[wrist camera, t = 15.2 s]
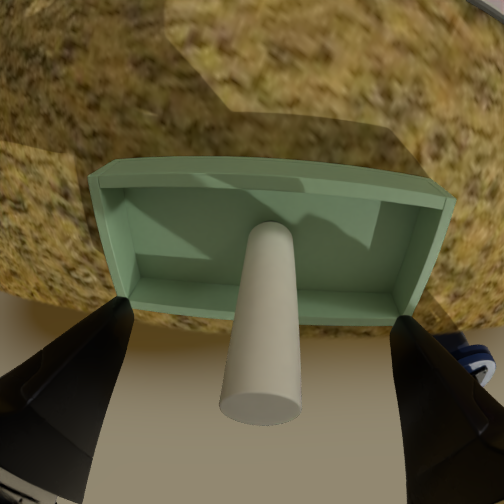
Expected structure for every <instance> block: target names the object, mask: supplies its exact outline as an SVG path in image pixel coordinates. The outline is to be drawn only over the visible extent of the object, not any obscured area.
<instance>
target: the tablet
mask: <svg viewBox="0 0 504 504" xmlns="http://www.w3.org/2000/svg"><path fill="white" fill-rule="evenodd" d="M466 1H468V2H469V3H471V4H473V5H475V6H476V7H478V8H480V9H481V10H483V11H485V12H486V13H488V14H489V15H491V16H492V17H494V18H495V19H497V20H498V21H500V22H501V23H503V24H504V0H466Z"/></svg>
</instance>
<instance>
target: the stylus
mask: <svg viewBox="0 0 504 504" xmlns="http://www.w3.org/2000/svg"><path fill="white" fill-rule="evenodd" d="M301 397H302V395H301V363H300V339H299V320H298V302H297V287H296V273H295V259H294V247H293V237H292V234H291V232H290V231H289V230H288V229H287V228H286V227H285V226H284V225H282V224H281V223H279V222H276V221H265V222H262V223H260V224H259V225H257V226H255V227H254V228H253V229H252V230H251V232H250V234H249V237H248V242H247V248H246V253H245V259H244V264H243V270H242V276H241V281H240V287H239V293H238V298H237V304H236V310H235V315H234V321H233V327H232V333H231V338H230V344H229V350H228V356H227V362H226V368H225V373H224V379H223V385H222V391H221V397H220V402H219V407H220V410H221V411H222V413H223V414H224V415H226V416H227V417H229V418H231V419H233V420H235V421H238V422H241V423H246V424H250V425H262V426H265V425H266V426H269V425H278V424H283V423H286V422H289V421H291V420H293V419H295V418H297V417H298V416H299V415H300V413H301V410H302V398H301Z"/></svg>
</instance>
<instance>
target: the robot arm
mask: <svg viewBox="0 0 504 504" xmlns="http://www.w3.org/2000/svg"><path fill="white" fill-rule="evenodd" d="M133 323H134V313H133V310H132V307H131V304H130V301H129V299H128V298H127V297H122V296H116V297H115V298H113V299H112V300H110V301H109V302H107V303H106V304H104V305H103V306H101V307H100V308H99V309H97V310H96V311H94V312H93V313H91V314H90V315H89V316H87V317H86V318H84V319H83V320H81V321H80V322H79V323H77V324H76V325H74V326H73V327H72V328H70V329H69V330H68V331H66V332H65V333H63V334H62V335H61V336H59V337H58V338H56V339H55V340H54V341H52V342H51V343H50V344H48V345H47V346H45V347H44V348H43V350H40V351H39V352H37V353H36V354H35V355H33V356H32V357H30V358H29V359H28V360H26V361H25V362H23V363H22V364H21V365H19V366H17V367H16V368H14V369H13V370H11V371H10V372H8V373H6V374H5V375H3V376H2V377H0V504H57V502H56V499H57V496H59V497H62V498H64V499H67V500H70V501H73V502H75V503H78V504H82V502H83V498H84V493H85V489H86V484H87V480H88V476H89V472H90V468H91V464H92V460H93V458H92V457H93V456H94V452H95V448H96V445H97V441H98V437H99V434H100V430H101V427H102V424H103V420H104V417H105V414H106V411H107V407H108V404H109V401H110V398H111V395H112V392H113V389H114V386H115V383H116V380H117V377H118V374H119V372H120V369H121V366H122V363H123V360H124V357H125V354H126V350H127V345H128V342H129V338H130V334H131V330H132V326H133ZM390 347H391V356H392V367H393V377H394V383H395V389H396V395H397V401H398V408H399V414H400V421H401V429H402V437H403V447H404V456H405V469H406V480H407V481H406V488H407V504H504V407H503V406H502V405H501V404H500V403H498V402H497V401H496V400H495V399H494V398H493V397H492V396H491V395H490V394H489V393H488V392H487V391H486V390H485V389H484V388H483V387H482V386H481V383H482V381H483V379H484V377H485V375H486V374H487V372H488V369H487V367H486V366H485V367H483V368H480V369H478V370H476V371H474V372H471V373H469V372H468V371H467V370H466V369H465V368H464V367H463V366H462V365H461V364H460V363H459V362H458V361H457V360H456V359H455V358H454V357H453V356H452V355H451V354H450V353H449V352H448V351H447V350H446V349H445V348H444V347H443V346H442V345H441V344H440V343H439V342H438V341H437V340H436V339H435V338H434V337H433V336H431V335H430V334H429V333H428V332H427V331H426V330H425V329H424V328H423V327H422V326H421V325H420V324H419V323H418V322H417V321H416V320H415V319H414V318H412V317H411V316H410V315H399V316H398V317H397V319H396V321H395V323H394V325H393V327H392V329H391V332H390Z"/></svg>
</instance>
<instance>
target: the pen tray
mask: <svg viewBox="0 0 504 504" xmlns="http://www.w3.org/2000/svg"><path fill="white" fill-rule="evenodd" d="M87 178H88V184H89V189H90V194H91V199H92V204H93V209H94V214H95V218H96V222H97V227H98V231H99V235H100V239H101V243H102V246H103V250H104V254H105V257H106V261H107V264H108V268H109V271H110V275H111V278H112V281H113V284H114V287H115V290H116V293H117V296H122V297H127V298H128V299H129V301H130V304H131V307H132V308H133V309H140V310H147V311H154V312H161V313H169V314H177V315H186V316H195V317H204V318H214V319H225V320H234V315H235V310H236V304H237V298H238V293H239V287H240V281H241V276H242V270H243V264H244V259H245V253H246V248H247V242H248V237H249V234H250V232H251V230H252V229H253V228H254V227H255V226H257V225H259V224H260V223H262V222H265V221H276V222H279V223H281V224H282V225H284V226H285V227H286V228H287V229H288V230H289V231H290V232H291V234H292V237H293V247H294V259H295V273H296V287H297V302H298V320H299V325H328V326H393V325H394V323H395V321H396V319H397V317H398V316H399V315H410V316H412V314H413V312H414V310H415V308H416V306H417V303H418V301H419V299H420V297H421V295H422V293H423V290H424V288H425V286H426V284H427V281H428V279H429V277H430V274H431V272H432V269H433V267H434V264H435V262H436V259H437V257H438V254H439V251H440V249H441V246H442V243H443V240H444V238H445V235H446V232H447V229H448V226H449V223H450V220H451V216H452V213H453V210H454V206H455V203H456V198H455V197H453V196H452V195H451V194H450V193H448V192H447V191H446V190H445V189H443V188H442V187H441V186H440V185H438V184H437V183H436V182H434V181H433V180H432V179H430V178H425V177H420V176H414V175H409V174H403V173H398V172H392V171H386V170H379V169H372V168H366V167H358V166H351V165H342V164H334V163H325V162H315V161H304V160H291V159H277V158H259V157H231V156H171V157H145V158H127V159H115V160H113V161H111V162H110V163H108V164H106V165H105V166H103V167H101V168H100V169H98V170H97V171H95V172H93V173H92V174H90V175H89V176H88V177H87Z"/></svg>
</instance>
